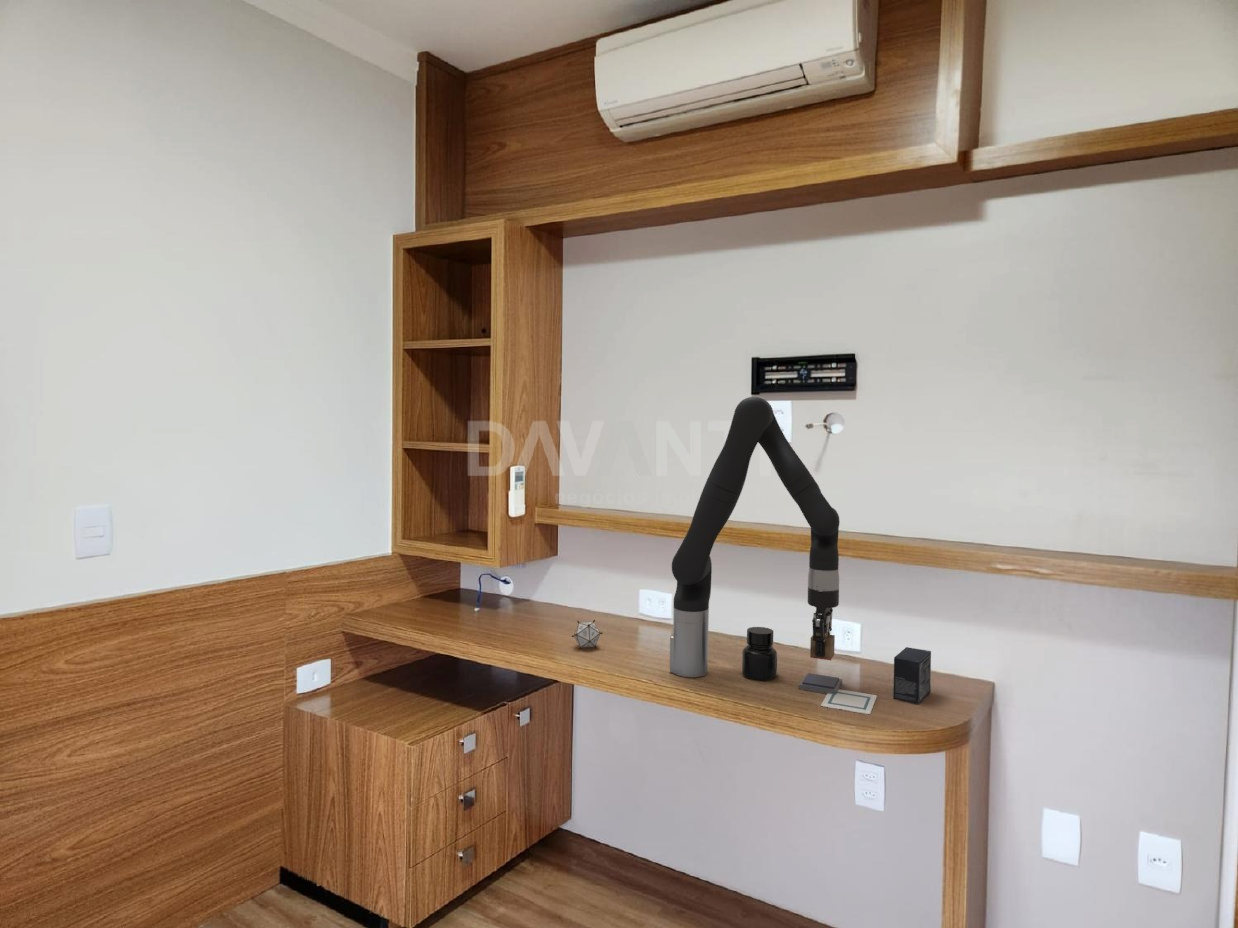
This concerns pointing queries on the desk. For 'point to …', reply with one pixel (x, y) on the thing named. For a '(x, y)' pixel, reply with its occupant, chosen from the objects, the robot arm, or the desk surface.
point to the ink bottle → (759, 655)
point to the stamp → (828, 647)
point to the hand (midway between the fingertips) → (822, 653)
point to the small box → (912, 675)
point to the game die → (587, 634)
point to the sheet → (850, 701)
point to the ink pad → (820, 683)
